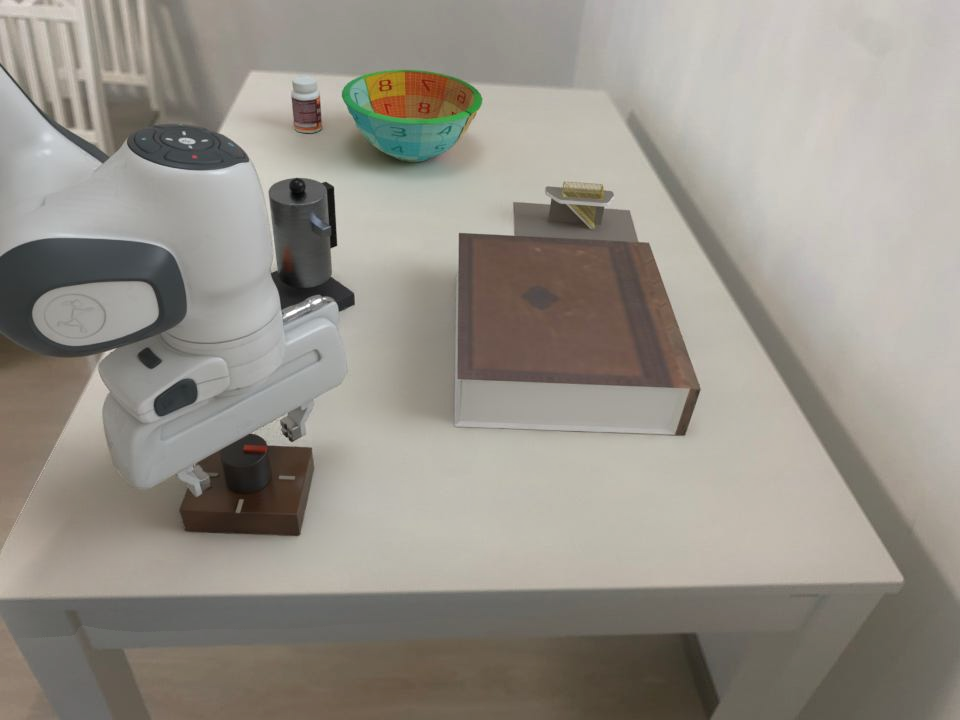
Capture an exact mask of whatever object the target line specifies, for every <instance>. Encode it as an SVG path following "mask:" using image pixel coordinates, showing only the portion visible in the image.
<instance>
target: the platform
mask: <svg viewBox="0 0 960 720" xmlns="http://www.w3.org/2000/svg"><path fill="white" fill-rule="evenodd" d="M562 183H563V184H562V187H560V186H545V188H544V194H545V196H547V197H549V198H550V204H547V203H536V202H535V203H534V202H521V201H513V218H514V219H513V220H514V236H530V237H550V238H569V239H588V240H608V241H627V242H639V239H638V235H637V231H636V228H635V224H634V220H633V217H632V214H631V213H632V212H631V210H630V209H618V208H605V207H608V206H609V205H610V204H611V203H612V202H613V201H614V197H615V193H614V191H613V190H605V186H604V183H594V182H580V181H569V180H568V181H566V180H564V181H563V182H562Z"/></svg>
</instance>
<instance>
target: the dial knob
mask: <svg viewBox="0 0 960 720" xmlns="http://www.w3.org/2000/svg"><path fill="white" fill-rule="evenodd" d="M267 445H268V444H267V441H266V440H265V439H264V438H263V437H262V436H260V435H258V434H255V433H250V434H249V435H247V436H245V437H243V438H241V439H239V440H238V441H236V442H234V443H232V444H230V445H228V446H227V447H225V448H223V449H221V450H220V458H221V463H222V468H223V472H224V477H225V482H226V484H227V486H228V487H229V488H230V489H231V490H233V491H235V492H237V493H253V492H256V491H258V490H260V489H262V488H263V487H265V486H266V485H267V484H268V482H269V481H270V479H271V474H272V472H271V466H270V460H269V453H268V447H267Z"/></svg>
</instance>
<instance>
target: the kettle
mask: <svg viewBox="0 0 960 720" xmlns="http://www.w3.org/2000/svg"><path fill="white" fill-rule="evenodd" d="M335 197H336V196H335V186H334V185H333V184H331V183H329V182H327V181H322V182H320V181H319V180H316V179H312V178H306V177H293V178H285V179H282V180H280V181H277V182H275V183H273V184H272V185H271V186H270V187H269V189H268V201H269V209H270V218H271V225H272V235H273V236H272V237H273V244H274V249H275V250H274V253H275V261H276V269H277V270H278V277H279V279H280V280H281V281H282V282H283V283H285V284H287V285H289V286H292V287H297V288H310V287H315V286H318V285H321V284H323V283H325V282H326V281H327V280H329V278H330V277H332V274H333V267H332V264H333V263H332V251H331V249H333V248H335V247H336V248H337V247H338V233H337V231H338V230H337V217H336V216H337V215H336V214H337V213H336V198H335ZM277 270H276V271H277Z"/></svg>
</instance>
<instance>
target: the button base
mask: <svg viewBox="0 0 960 720" xmlns="http://www.w3.org/2000/svg"><path fill="white" fill-rule="evenodd" d="M271 277H272V279H273V281H274V283H275V285H276V287H277V290H278V293H279V297H280V304H281V310H282V309H285V308H287V307H289V306H292V305H296V304H299V303H301V302H303V301H305V299H307V298H309V297H311V296H314V295H321V296H322V297H331V298H332V299H334V300H335V302H336V303H337V305H338V310H339V312H342V311H343V310H346V309H348V308H350V307H352V306H355V304H356V302H355V301H356V300H355V293H354V292H353V291H352V290H351V289H349V288H348V287H346V286H345V285H343V283H341V282H340V281H338V280H337V279H335V277H332V276H331V277H330V278H329V280H327V281H326V282H325V283H323V284H321V285H318V286H315V287H310V288H297V287H292V286H289V285H287V284H285V283H283V282H282V281H281V280H280V279H279V277H278V270H275V271H273V272H272V271H271Z"/></svg>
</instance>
